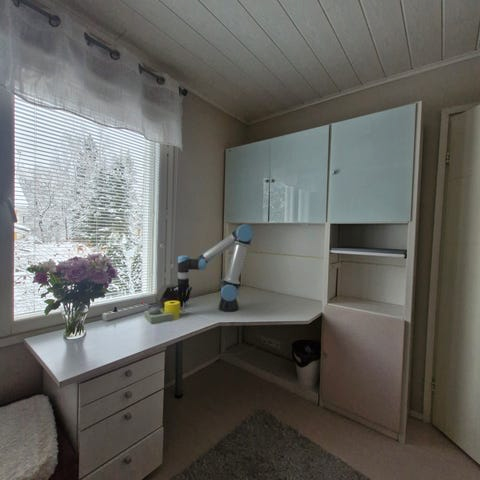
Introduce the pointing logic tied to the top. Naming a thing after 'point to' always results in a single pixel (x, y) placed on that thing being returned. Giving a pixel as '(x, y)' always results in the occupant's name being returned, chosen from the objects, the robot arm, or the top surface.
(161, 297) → the planter
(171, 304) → the yellow cylinder with hole
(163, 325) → the top surface
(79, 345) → the top surface
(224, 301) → the robot arm
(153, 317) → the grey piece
